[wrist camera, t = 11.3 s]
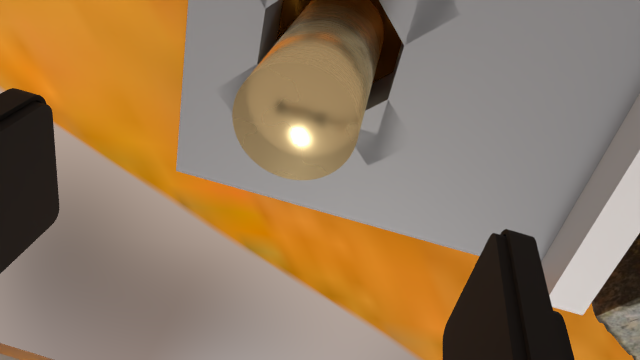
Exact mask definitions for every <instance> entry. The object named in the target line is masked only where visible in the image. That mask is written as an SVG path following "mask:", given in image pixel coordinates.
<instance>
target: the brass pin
mask: <svg viewBox="0 0 640 360" xmlns="http://www.w3.org/2000/svg"><path fill="white" fill-rule="evenodd" d="M383 40H384V26H383V21H382V18H381V16H380V13H379V11H378V10H377V8H376V7H375V6H374V4H373V3H372V2H371V1H370V0H312V1H311V2H310V3H309V4H308V5H307V6H306V7H305V9H304V10H303V11H302V12H301V13H300V15H299V16H298V17H297V18H296V20H295V21H294V22H293V23H292V24H291V26H290V27H289V28H288V29H287V30H286V32H285V33H284V34H283V35H282V37H281V38H280V39H279V40H278V41H277V43H276V44H275V45H274V46H273V48H272V49H271V50H270V51H269V52H268V54H267V55H266V56H265V57H264V58H263V60H262V61H261V62H260V63H259V65H258V66H257V67H256V68H255V69H254V71H253V72H252V73H251V74H250V75H249V77H248V78H247V79H246V80H245V82H244V83H243V84H242V86H241V87H240V89H239V90H238V92H237V94H236V97H235V100H234V104H233V111H232V119H233V126H234V131H235V134H236V136H237V139H238V141H239V143H240V145H241V146H242V148H243V149H244V151H245V152H246V153H247V155H248V156H249V157H250V158H251V159H252V160H253V161H254V162H255V163H256V164H258V165H259V166H260V167H262V168H263V169H265V170H266V171H268V172H270V173H272V174H274V175H277V176H280V177H283V178H287V179H291V180H313V179H318V178H322V177H324V176H327V175H329V174H331V173H333V172H334V171H336V170H337V169H339V168H340V167H341V166H342V165H343V164H344V163H345V162H346V161H347V160H348V159H349V157H350V156H351V154H352V152H353V150H354V148H355V146H356V143H357V139H358V136H359V132H360V128H361V124H362V120H363V117H364V113H365V109H366V105H367V102H368V98H369V94H370V90H371V86H372V83H373V79H374V75H375V71H376V67H377V64H378V60H379V56H380V52H381V49H382V45H383Z"/></svg>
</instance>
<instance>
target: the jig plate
mask: <svg viewBox="0 0 640 360" xmlns="http://www.w3.org/2000/svg"><path fill="white" fill-rule="evenodd" d="M379 2H380V3H381V5H382V7H383V9H384V10H385V12H386V14H387V16H388V18H389V19H390V21H391V23H392V25H393V26H394V28H395V30H396V32H397V34H398V35H399V37H400V39H401V41H402V44H401V47H400V51H399V54H398V57H397V61H396V64H395V67H394V71H393V72H392V73H390V74H389V75H387V76H385V77H383V78H381V79H379V80H377V81H375V82H374V83H372V86H371V90H370V94H369V98H368V102H367V105H366V109H365V113H364V117H363V120H362V124H361V128H360V132H359V136H358V139H357V143H356V146H355V148H354V150H353V152H352V154H351V156H350V157H349V159H348V160H347V161H346V162H345V163H344V164H343V165H342V166H341V167H340V168H339V169H337V170H336V171H334V172H333V173H331V174H329V175H327V176H324V177H322V178H318V179H313V180H291V179H287V178H283V177H280V176H277V175H274V174H272V173H270V172H268V171H266V170H265V169H263V168H262V167H260V166H259V165H258V164H256V163H255V162H254V161H253V160H252V159H251V158H250V157H249V156H248V155H247V153H246V152H245V151H244V149H243V148H242V146H241V145H240V143H239V141H238V139H237V136H236V134H235V131H234V126H233V119H232V111H233V104H234V100H235V97H236V94H237V92H238V90H239V89H240V87H241V86H242V84H243V83H244V82H245V80H246V79H247V78H248V77H249V75H250V74H251V73H252V72H253V71H254V69H255V68H256V67H257V66H258V65H259V63H260V62H261V61H262V60H263V58H264V57H265V56H266V55H267V54H268V52H269V51H270V50H271V49H272V48H273V46H274V45H275V44H276V43H277V41H276V40H277V34H278V28H279V22H280V16H281V10H282V4H283V0H189V1H188V14H187V28H186V42H185V56H184V70H183V84H182V98H181V112H180V125H179V139H178V153H177V167H176V171H179V172H182V173H186V174H189V175H193V176H196V177H200V178H203V179H207V180H211V181H214V182H218V183H221V184H225V185H228V186H232V187H236V188H239V189H243V190H246V191H250V192H253V193H257V194H260V195H264V196H268V197H271V198H275V199H278V200H282V201H285V202H289V203H293V204H296V205H300V206H303V207H307V208H310V209H314V210H317V211H321V212H325V213H328V214H332V215H335V216H339V217H342V218H346V219H350V220H353V221H357V222H360V223H364V224H367V225H371V226H374V227H378V228H382V229H385V230H389V231H392V232H396V233H399V234H403V235H407V236H410V237H414V238H417V239H421V240H424V241H428V242H431V243H435V244H439V245H442V246H446V247H449V248H453V249H456V250H460V251H464V252H467V253H471V254H474V255H478V256H480V255H481V253H482V251H483V249H484V247H485V245H486V243H487V241H488V239H489V237H490V235H491V234H492V233H496V234H499V235H500V234H501V232H502V231H503V230H505V229H508V230H512V231H515V232H519V233H522V234H526V235H529V236H533V237H534V238H535V240H536V243H537V247H538V251H539V255H540V259H541V263H542V268H543V272H544V276H545V280H546V284H547V288H548V292H549V296H550V300H551V305H552V307H555V308H558V309H562V310H565V311H569V312H572V313H576V314H580V315H583V314H584V313H585V311H586V310H587V308H588V307H589V305H590V304H591V303H592V301H593V300H594V298H595V297H596V295H597V294H598V292H599V291H600V290H601V288H602V287H603V285H604V284H605V282H606V281H607V279H608V278H609V276H610V275H611V274H612V272H613V271H614V269H615V268H616V266H617V265H618V263H619V262H620V261H621V259H622V258H623V256H624V255H625V253H626V252H627V250H628V249H629V248H630V246H631V245H632V243H633V242H634V240H635V239H636V237H637V236H638V235H639V233H640V0H379Z"/></svg>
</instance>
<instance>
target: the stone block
mask: <svg viewBox="0 0 640 360" xmlns="http://www.w3.org/2000/svg"><path fill="white" fill-rule="evenodd" d="M592 306H593V311H594V313H595V316H596V318H597V320H598V321H599V322H600V323H603V324H604V325H605V327H606V329H607V331H609V332H610V333H611V334H612V335H613V336H614V337H615V339H616V340H617V341H618V342H619V344H620V345H621V346H622V347H623V348H624V350H625V351H626V352H627V353H628V354H629V355H632V356H633V358H634V360H640V233H639V235H638V236H637V237H636V239H635V240H634V242H633V243H632V245H631V246H630V248H629V249H628V250H627V252H626V253H625V255H624V256H623V258H622V259H621V261H620V262H619V263H618V265H617V266H616V268H615V269H614V271H613V272H612V274H611V275H610V276H609V278H608V279H607V281H606V282H605V284H604V285H603V287H602V288H601V290H600V291H599V292H598V294H597V295H596V297H595V298H594V300H593V301H592Z"/></svg>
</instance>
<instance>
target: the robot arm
mask: <svg viewBox="0 0 640 360" xmlns="http://www.w3.org/2000/svg"><path fill="white" fill-rule="evenodd" d="M58 213H59V198H58V184H57V170H56V156H55V143H54V129H53V115H52V109H51V108H50V106H48V105H46V102H45V100H44V98H43V97H41V96H40V95H36V94H33V93H29V92H26V91H22V90H19V89H14V88H12V89H9V90H7V91H5V92H3V93H1V94H0V273H1V272H2V271H4V270H5V269H6V268H7V267H8V266H9V265H10V264H11V263H12V262H13V261H14V260H15V259H16V258H17V257H18V256H19V255H20V254H21V253H23V252H24V251H25V250H26V249H27V248H28V247H29V246H30V245H31V244H32V243H33V242H34V241H35V240H36V239H37V238H38V237H39V236H40V235H41V234H43V233H44V232H45V231H46V230H47V229H48V228H49V227H50V226H51V225H52V224H53V223H54V221H55V220H56V218H57V216H58ZM0 360H53V359H50V358H47V357H44V356H41V355H37V354H34V353H31V352H28V351H25V350H21V349H18V348H15V347H11V346H8V345H5V344H2V343H0ZM443 360H574V356H573V352H572V348H571V344H570V340H569V337H568V333H567V329H566V325H565V322H564V319H563V317H562V315H561V314H560V313H558V312H556V311H553V309H552V305H551V300H550V296H549V292H548V288H547V284H546V280H545V276H544V272H543V268H542V263H541V259H540V255H539V251H538V247H537V243H536V240H535V238H534V237H533V236H529V235H526V234H522V233H519V232H515V231H512V230H508V229H505V230H503V231H502V232H501V234H500V235H499V234H496V233H492V234H491V235H490V237H489V239H488V241H487V243H486V245H485V247H484V249H483V251H482V253H481V255H480V257H479V259H478V261H477V263H476V265H475V267H474V269H473V271H472V273H471V275H470V277H469V279H468V281H467V283H466V285H465V287H464V289H463V291H462V293H461V295H460V297H459V299H458V301H457V303H456V305H455V307H454V310H453V312H452V314H451V316H450V318H449V320H448V322H447V324H446V327H445V330H444V335H443Z"/></svg>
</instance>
